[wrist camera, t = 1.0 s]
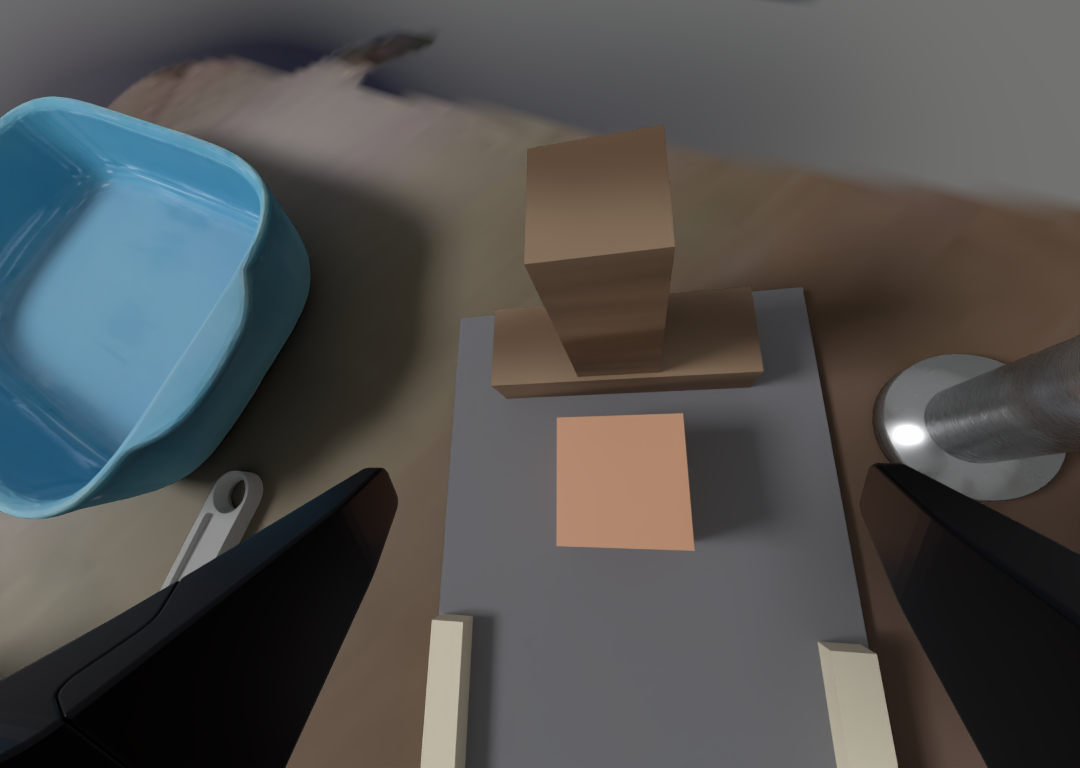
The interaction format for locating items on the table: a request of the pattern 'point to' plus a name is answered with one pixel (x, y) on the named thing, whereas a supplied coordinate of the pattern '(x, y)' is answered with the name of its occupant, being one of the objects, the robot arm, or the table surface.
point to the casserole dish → (129, 302)
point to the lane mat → (654, 588)
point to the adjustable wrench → (218, 524)
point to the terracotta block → (623, 482)
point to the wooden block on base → (614, 284)
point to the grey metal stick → (984, 420)
